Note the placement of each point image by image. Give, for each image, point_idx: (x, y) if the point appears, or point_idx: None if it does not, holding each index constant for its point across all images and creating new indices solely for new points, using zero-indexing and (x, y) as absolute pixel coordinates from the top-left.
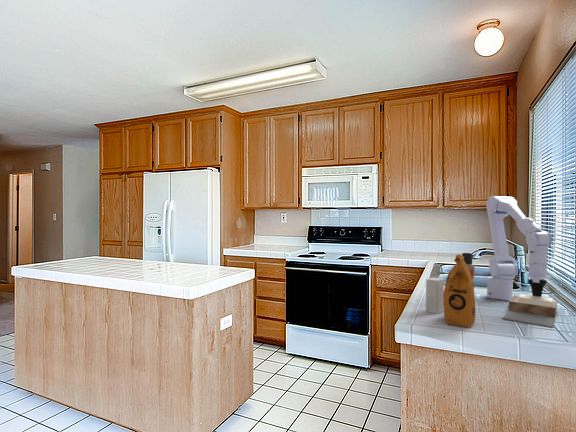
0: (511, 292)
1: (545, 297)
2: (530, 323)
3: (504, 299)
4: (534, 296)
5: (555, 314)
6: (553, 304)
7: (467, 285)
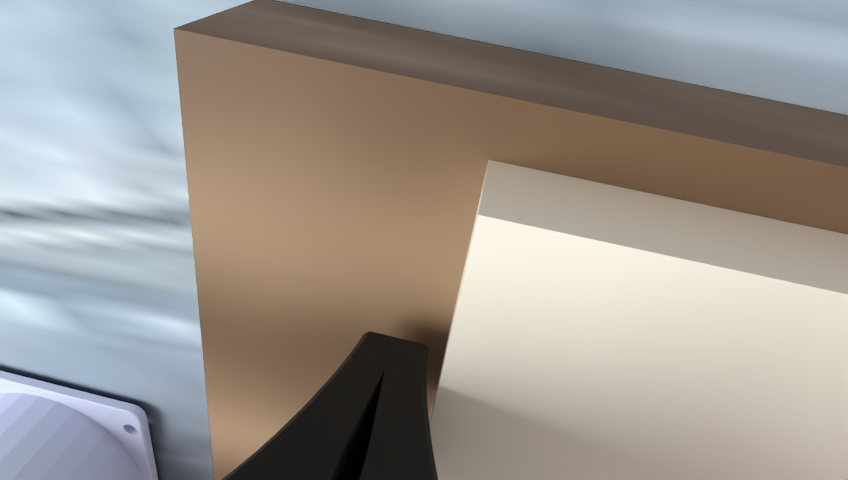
0: (14, 470)
1: (471, 330)
2: None
3: (149, 458)
4: (486, 468)
5: (736, 101)
6: (563, 155)
7: None
